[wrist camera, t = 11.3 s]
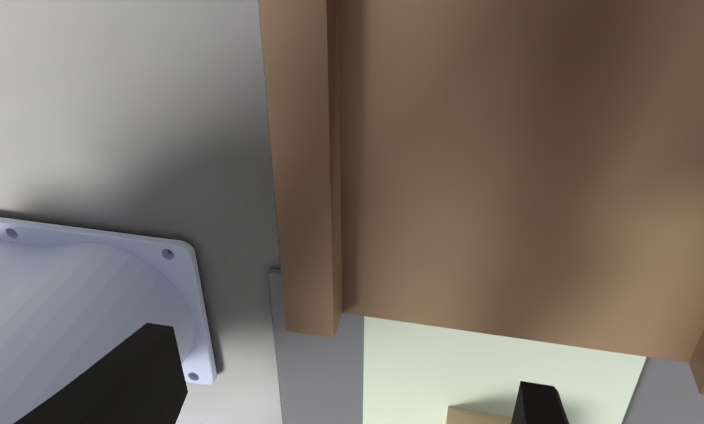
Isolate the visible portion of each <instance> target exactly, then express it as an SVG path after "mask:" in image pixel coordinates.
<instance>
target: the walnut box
mask: <svg viewBox="0 0 704 424" xmlns="http://www.w3.org/2000/svg"><path fill="white" fill-rule="evenodd" d="M258 1H259V13H260V25H261V37H262V50H263V62H264V74H265V86H266V98H267V110H268V122H269V134H270V146H271V158H272V170H273V182H274V194H275V206H276V219H277V231H278V243H279V255H280V267H281V279H282V291H283V303H284V315H285V327H286V331H290V332H296V333H303V334H309V335H316V336H322V337H329V338H334V337H335V334H336V331H337V327H338V324H339V321H340V318H341V315H342V313H346V314H353V315H360V316H367V317H374V318H380V319H387V320H394V321H401V322H408V323H415V324H422V325H429V326H436V327H443V328H450V329H457V330H464V331H471V332H477V333H484V334H491V335H498V336H505V337H512V338H519V339H526V340H533V341H540V342H547V343H554V344H561V345H568V346H574V347H581V348H588V349H595V350H602V351H609V352H616V353H623V354H630V355H637V356H644V357H651V358H658V359H665V360H671V361H678V362H685V363H689V365H690V368H691V371H692V373H693V376H694V379H695V382H696V385H697V388H698V391H699V393H700V394H703V395H704V0H258Z"/></svg>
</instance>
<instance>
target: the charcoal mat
mask: <svg viewBox="0 0 704 424" xmlns="http://www.w3.org/2000/svg"><path fill="white" fill-rule="evenodd" d="M268 279H269V289H270V299H271V310H272V320H273V330H274V340H275V350H276V360H277V371H278V381H279V391H280V401H281V411H282V422H283V424H363V372H364V316H360V315H353V314H346V313H342V315H341V318H340V321H339V324H338V327H337V331H336V334H335V337H334V338H329V337H322V336H316V335H309V334H303V333H296V332H290V331H286V327H285V315H284V303H283V291H282V279H281V270H280V269H273V268H270V270H269V272H268ZM621 424H704V395H703V394H700V393H699V391H698V388H697V385H696V382H695V379H694V376H693V373H692V371H691V368H690V365H689V363H685V362H678V361H671V360H665V359H658V358H651V357H647V358H646V360H645V363H644V366H643V368H642V371H641V373H640V376H639V379H638V381H637V384H636V387H635V389H634V392H633V394H632V397H631V400H630V402H629V405H628V408H627V410H626V413H625V415H624V418H623V421H622V423H621Z"/></svg>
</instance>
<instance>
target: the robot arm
mask: <svg viewBox="0 0 704 424" xmlns="http://www.w3.org/2000/svg"><path fill="white" fill-rule="evenodd" d="M167 249H168V250H170V251H172V252H173V254H172V253H170V252H169V251H168V250H167ZM216 377H217V372H216V366H215V360H214V355H213V349H212V344H211V338H210V332H209V327H208V321H207V316H206V310H205V304H204V299H203V293H202V288H201V282H200V277H199V271H198V265H197V260H196V254H195V251H194V248H193V247H192V246H191V245H190V244H189V243H187V242H184V241H180V240H173V239H165V238H157V237H149V236H142V235H134V234H126V233H118V232H111V231H103V230H95V229H87V228H80V227H72V226H64V225H56V224H49V223H41V222H33V221H25V220H18V219H10V218H2V217H0V424H175V423H176V420H177V418H178V416H179V413H180V410H181V408H182V405H183V403H184V400H185V398H186V395H187V393H188V391H187V386H186V382H191V383H196V384H202V385H211V384H213V383H214V381H215V379H216ZM511 424H569V421H568V419H567V416H566V413H565V410H564V408H563V405H562V402H561V399H560V395H559V392H558V390H557V389H556V388H555V387H554V386H550V385H544V384H537V383H531V382H524V381H520V386H519V390H518V395H517V399H516V404H515V408H514V412H513V417H512V421H511Z"/></svg>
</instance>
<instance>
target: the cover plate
mask: <svg viewBox="0 0 704 424" xmlns="http://www.w3.org/2000/svg"><path fill="white" fill-rule="evenodd" d="M646 358H647V357H644V356H637V355H630V354H623V353H616V352H609V351H602V350H595V349H588V348H581V347H574V346H568V345H561V344H554V343H547V342H540V341H533V340H526V339H519V338H512V337H505V336H498V335H491V334H484V333H477V332H471V331H464V330H457V329H450V328H443V327H436V326H429V325H422V324H415V323H408V322H401V321H394V320H387V319H380V318H374V317H367V316H364V372H363V424H511V421H512V417H513V412H514V408H515V404H516V399H517V395H518V390H519V386H520V381H524V382H531V383H537V384H544V385H550V386H554V387H555V388H556V389H557V390H558V392H559V395H560V399H561V402H562V405H563V408H564V410H565V413H566V416H567V419H568V421H569V424H621V423H622V421H623V418H624V415H625V413H626V410H627V408H628V405H629V402H630V400H631V397H632V394H633V392H634V389H635V387H636V384H637V381H638V379H639V376H640V373H641V371H642V368H643V366H644V363H645V360H646Z"/></svg>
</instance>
